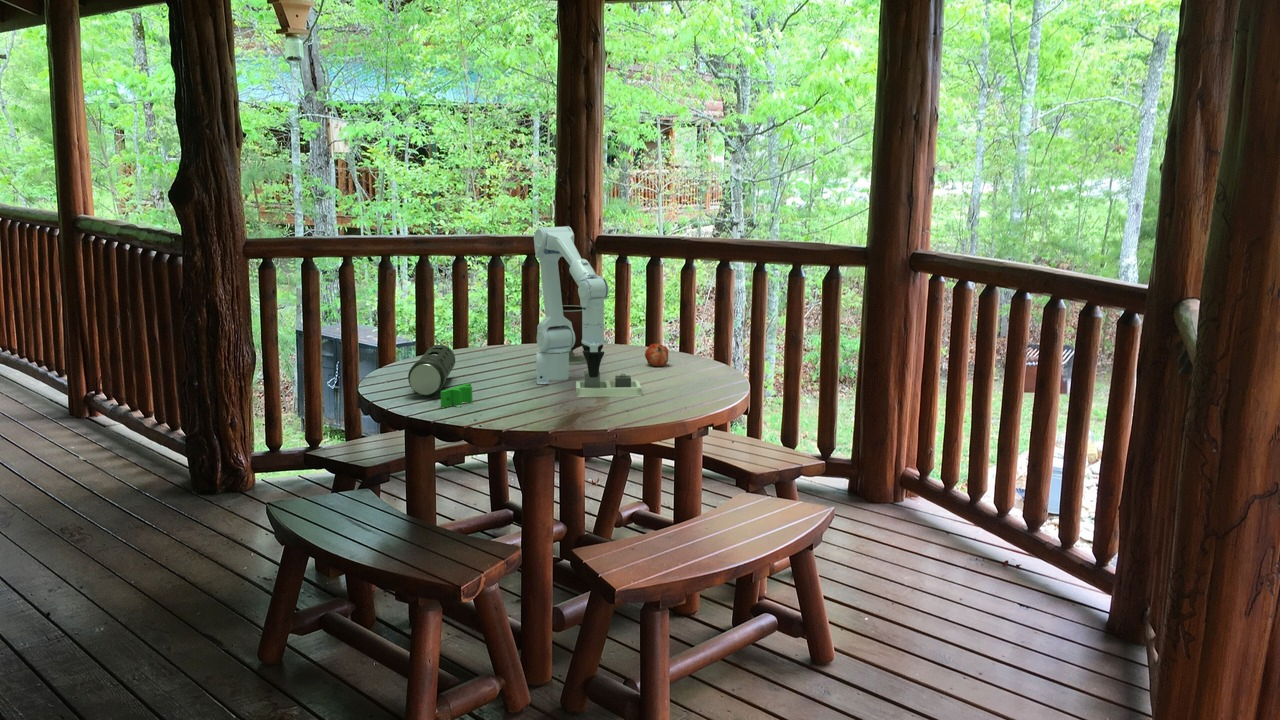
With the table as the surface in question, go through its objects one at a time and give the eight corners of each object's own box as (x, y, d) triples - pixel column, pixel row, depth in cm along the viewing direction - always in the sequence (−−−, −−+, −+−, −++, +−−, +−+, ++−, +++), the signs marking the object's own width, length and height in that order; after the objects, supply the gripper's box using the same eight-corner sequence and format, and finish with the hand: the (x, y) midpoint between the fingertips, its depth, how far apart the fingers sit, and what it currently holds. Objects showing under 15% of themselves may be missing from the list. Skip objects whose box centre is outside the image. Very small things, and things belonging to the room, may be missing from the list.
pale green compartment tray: (576, 401, 255) (576, 389, 254) (576, 391, 265) (576, 380, 265) (641, 400, 256) (641, 388, 255) (638, 391, 267) (638, 379, 266)
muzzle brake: (457, 378, 283) (455, 343, 281) (444, 400, 255) (442, 361, 253) (423, 378, 282) (422, 343, 280) (407, 400, 255) (405, 362, 253)
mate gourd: (578, 355, 319) (577, 295, 315) (598, 362, 307) (598, 300, 303) (535, 360, 311) (534, 298, 307) (554, 367, 299) (553, 303, 295)
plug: (616, 393, 259) (616, 375, 258) (615, 390, 263) (615, 372, 262) (631, 393, 259) (631, 375, 258) (630, 389, 263) (630, 372, 262)
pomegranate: (642, 371, 305) (645, 357, 296) (644, 351, 309) (647, 336, 300) (665, 374, 306) (669, 359, 297) (667, 353, 309) (671, 338, 300)
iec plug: (584, 393, 258) (584, 368, 257) (584, 390, 262) (584, 365, 261) (599, 393, 258) (599, 368, 257) (599, 389, 262) (599, 365, 261)
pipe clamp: (452, 410, 245) (452, 392, 244) (441, 408, 247) (440, 391, 246) (479, 401, 255) (479, 384, 254) (467, 399, 256) (467, 382, 255)
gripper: (609, 328, 250) (609, 379, 253) (607, 319, 264) (606, 368, 267) (582, 328, 249) (582, 379, 252) (581, 319, 264) (581, 368, 266)
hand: (593, 374), depth 259 cm, fingers open, 7 cm apart
